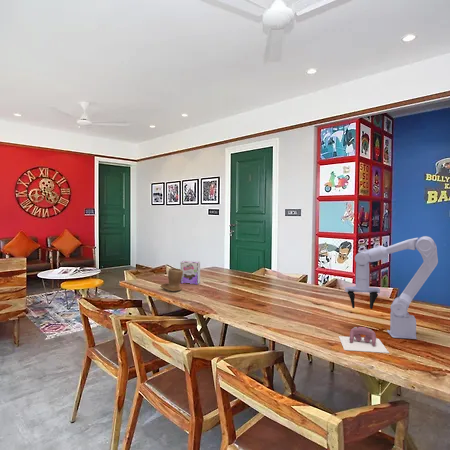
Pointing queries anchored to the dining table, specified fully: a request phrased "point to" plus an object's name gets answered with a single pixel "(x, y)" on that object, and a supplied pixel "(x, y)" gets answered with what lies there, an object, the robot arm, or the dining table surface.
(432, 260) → the robot arm
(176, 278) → the brown hat
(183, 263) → the candy box
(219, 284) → the dining table surface
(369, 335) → the video game controller
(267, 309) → the dining table surface
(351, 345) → the mat
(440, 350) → the dining table surface
